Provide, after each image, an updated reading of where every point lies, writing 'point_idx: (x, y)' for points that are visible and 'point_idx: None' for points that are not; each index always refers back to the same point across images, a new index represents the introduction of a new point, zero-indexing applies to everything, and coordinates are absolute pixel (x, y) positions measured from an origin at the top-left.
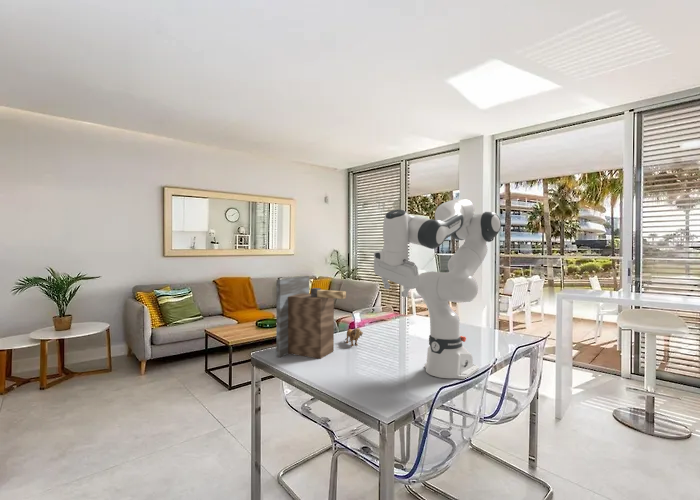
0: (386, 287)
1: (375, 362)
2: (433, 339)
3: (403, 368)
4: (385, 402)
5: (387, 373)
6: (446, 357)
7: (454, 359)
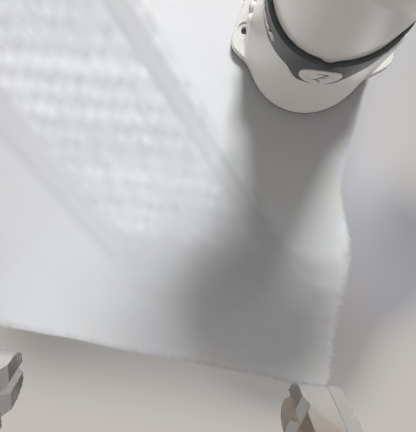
0: (4, 409)
1: (97, 124)
2: (316, 65)
3: (190, 111)
4: (285, 334)
5: (181, 180)
6: (355, 74)
7: (381, 59)
